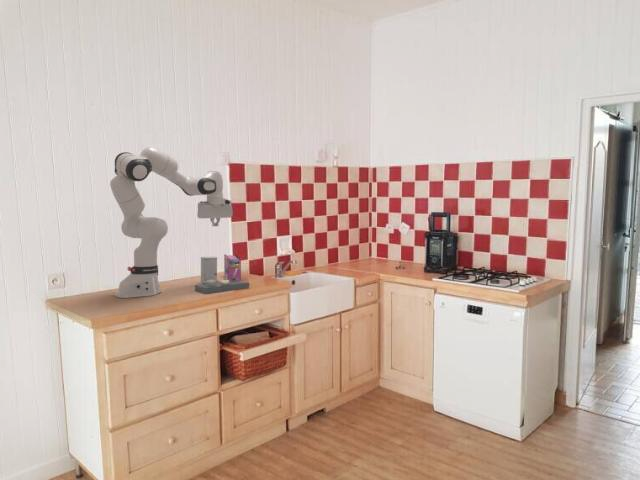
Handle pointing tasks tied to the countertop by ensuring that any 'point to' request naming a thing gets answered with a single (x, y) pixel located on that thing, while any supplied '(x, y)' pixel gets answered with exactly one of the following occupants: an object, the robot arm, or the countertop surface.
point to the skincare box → (208, 269)
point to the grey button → (211, 282)
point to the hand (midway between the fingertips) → (215, 226)
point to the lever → (235, 271)
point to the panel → (221, 286)
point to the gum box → (232, 266)
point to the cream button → (224, 282)
